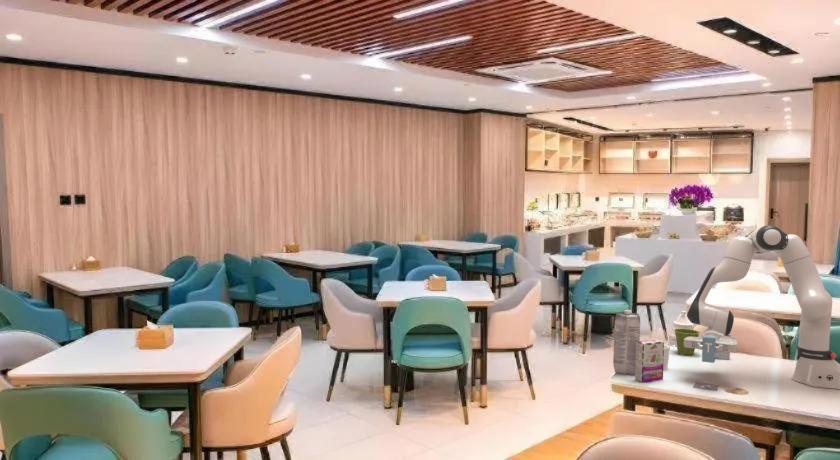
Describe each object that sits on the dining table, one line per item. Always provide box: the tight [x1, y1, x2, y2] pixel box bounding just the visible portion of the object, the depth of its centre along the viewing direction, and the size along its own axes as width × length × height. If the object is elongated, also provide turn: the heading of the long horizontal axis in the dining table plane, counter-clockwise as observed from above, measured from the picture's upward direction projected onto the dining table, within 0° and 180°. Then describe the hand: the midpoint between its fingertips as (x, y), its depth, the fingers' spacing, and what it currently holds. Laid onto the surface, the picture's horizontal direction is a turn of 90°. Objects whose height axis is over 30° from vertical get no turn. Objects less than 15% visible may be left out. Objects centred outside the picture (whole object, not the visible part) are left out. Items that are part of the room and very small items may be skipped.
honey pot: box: [668, 310, 695, 348], centre depth 335 cm, size 13×13×18 cm
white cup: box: [663, 344, 670, 371], centre depth 291 cm, size 8×8×10 cm
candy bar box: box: [634, 339, 665, 383], centre depth 273 cm, size 11×5×16 cm, turn 112°
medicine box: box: [715, 352, 731, 360], centre depth 311 cm, size 8×4×9 cm, turn 84°
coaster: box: [723, 386, 750, 396], centre depth 259 cm, size 9×9×1 cm
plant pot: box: [674, 329, 701, 356], centre depth 318 cm, size 12×12×11 cm
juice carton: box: [612, 309, 641, 376], centre depth 283 cm, size 9×10×27 cm
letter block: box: [701, 334, 716, 364], centre depth 263 cm, size 4×5×10 cm
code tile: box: [692, 381, 720, 392], centre depth 264 cm, size 9×9×1 cm
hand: (708, 348), depth 263 cm, fingers closed on letter block, 4 cm apart
